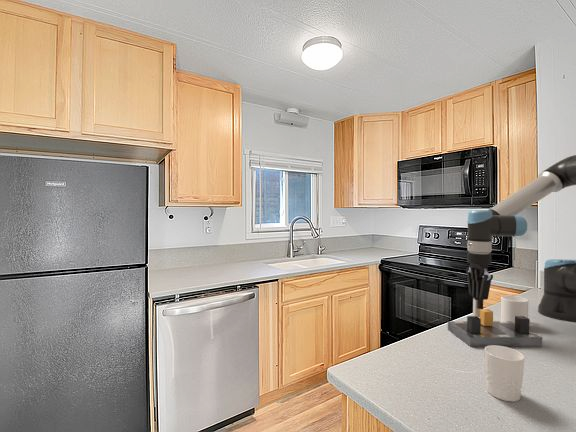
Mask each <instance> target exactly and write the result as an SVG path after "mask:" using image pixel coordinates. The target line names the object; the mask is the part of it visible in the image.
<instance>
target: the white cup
mask: <svg viewBox="0 0 576 432" xmlns="http://www.w3.org/2000/svg"><path fill="white" fill-rule="evenodd" d="M524 367H525V355H524V354H523V353H521V352H520V351H519V350H516V349H514V348H512V347H511V348H510V347H504V346H497V345H490V346H486V347H484V371H485V382H486V383H485V386H486V387H485V388H486V391H487V392H488V393H489V395H491V396H492V397H494V398H497V399H499V400H502V401H505V402H510V403H511V402H514V403H515V402H518V401H520V400H521V396H522V387H523V380H524V369H525V368H524Z"/></svg>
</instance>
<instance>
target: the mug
mask: <svg viewBox="0 0 576 432" xmlns="http://www.w3.org/2000/svg"><path fill="white" fill-rule="evenodd" d="M515 316H525V317H527V318H529V300H528V298H525V297H523V296H518V295H506V294H505V295H501V297H500V321H511V322H513V323H515Z"/></svg>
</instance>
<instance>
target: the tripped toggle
mask: <svg viewBox="0 0 576 432" xmlns="http://www.w3.org/2000/svg"><path fill="white" fill-rule="evenodd" d="M479 318H480V319H481V324H482V325H483V326H493V321H494V311H493V310H491V309H487V308H485V309H484V308H483V309H480V317H479Z"/></svg>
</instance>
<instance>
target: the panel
mask: <svg viewBox="0 0 576 432" xmlns="http://www.w3.org/2000/svg"><path fill="white" fill-rule="evenodd" d="M530 321H531V320H530V318H529V317H528V318H527V317H525V316H515V323H513V322H511V321H501V320H499V321H497V320H496V321H495V320H493V326H483V325H482V324H481V319H480V317H477V316H473V315H472V316H471V315H469V316H468V315H467V316H466V321H463V320H461V321H460V320H457V321H456V320H454V321H453V320H452V321H451V320H450V321H448V320H447V331H448V332H451V334H453V335H454V336H455V337H457V338H458V339H459V340H461V341H462V342H463V343H465V344H466V345H467V346H468V347H469V348H473V347H476V348H485V347H486V346H490V345H497V346H504V347H508V348H510V347H511V348H512V347H513V348H514V347H515V348H517V347H518V348H520V347H521V348H523V347H525V348H528V347H531V348H532V347H533V348H534V347H535V348H537V347H541V348H542V347H543V337H542V336H540V335H538V334H537V333H534V332H532V331H531V330H530Z"/></svg>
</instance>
